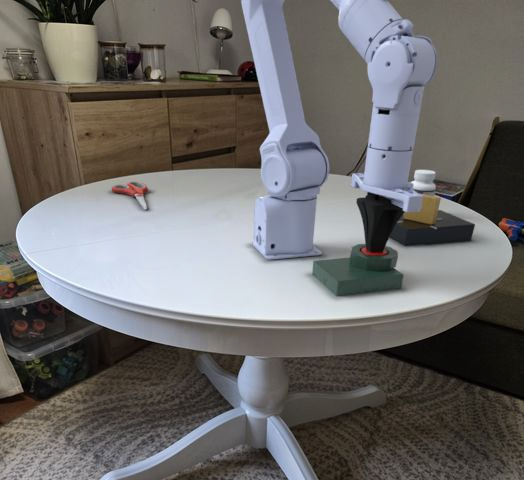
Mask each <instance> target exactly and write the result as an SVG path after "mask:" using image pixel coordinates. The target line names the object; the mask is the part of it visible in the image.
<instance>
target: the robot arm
mask: <svg viewBox="0 0 524 480" xmlns="http://www.w3.org/2000/svg"><path fill="white" fill-rule="evenodd" d="M329 1H330V2H331V3H332V4H333V5H334V6H335V8H337V10H338V11H339V12H338V13H339V14H338V27H339V30H340V31H341V33H343V35H344V36H345V37H346V39H347V40H348V42H349V43H350V44H351V45H352V46H353V48H354V49H355V51H357V52H358V54H359V55H360V57H361V58H362V59H363V61H364V62H365V63H366V65H367V77H368V81H369V83H370V85H371V88H372V98H371V102H372V103H373V104H372V110H371V111H372V112H371V118H370V127H369V134H368V141H367V149H366V157H365V165H364V170H363V171H364V172H354V173H351V183H350V188H352V189H359V190H361V191H363V192H366V195H365V197H357V198H356V201H355V202H356V205H357V207H358V211H359V213H360V217H361V221H362V225H363V234H364V244H366V250H368V251H369V252H371V253H373V252H383V250H384V248H385V246H387V244H388V241H389V239H390V238H389V237H390V234H391V232H392V230H393V228H394V227H395V225H396V223H397V222H398V220H399V219H400V218H401V216H402V215H403V214H404V213H405V212H420V211H421V206H422V201H423V196H422V195H420V194H418V193H417V192H415V191H414V190H413V185H414V184H413V183H411V181H409V175H410V171H411V166H412V165H411V164H412V159H413V153H414V148H415V142H416V137H417V131H418V125H419V120H420V113H421V109H422V104H423V98H424V97H423V96H424V90H425V88H426V87H427V86H428V85H429V84H430V82H432V80H433V78H434V76H435V74H436V71H437V67H438V55H437V54H438V53H437V50H436V48H435V46H434V45H433V42H432V39H431V38H429V37H427V36H424V35H414V33H413V29H414V26H415V25H414V24H413V23H412V22H411V21H410V19H403V18H402V16H401V15H400V14H399V13H398V12H397V10H396V8H395V7H394V6H393V5H392V4H391V3H390V2H389V0H329ZM284 2H285V0H240V3H241V8H242V13H243V18H244V23H245V27H246V31H247V32H246V33H247V35H248V40H249V44H250V45H249V46H250V50H251V53H252V54H251V55H252V59H253V62H254V67H255V72H256V77H257V81H258V86H259V90H260V95H261V99H262V103H263V104H262V105H263V109H264V113H265V117H266V122H267V127H268V131H269V133H268V135H267V137H266V138H265V139H264V141H263V142H262V144H261V145H260V147H259V153H260V158H261V166H260V178H261V182H262V185H263V187H264V189H265V190H266V192H267V195H265V196H260V197H257V198H256V199H255V203H254V212H253V214H254V215H253V241H252V246H253V247H254V248H255V249H256V250H257V251H258V252H259V253H260V254H261V255H262V256H263V258H265V259H266V260H267V261H268V260H269V261H271V260H280V259H281V260H282V259H283V260H284V259H293V258H304V257H305V258H306V257H315V256H316V257H317V256H323V251H321V250H320V249H319V248H318V247H316V246H315V245H314V238H315V235H314V234H315V225H316V213H317V212H316V211H317V200H318V195H320V193H321V187H323V186H324V185H325V183H326V182H327V180H328V178H329V174H330V161H329V157H328V155H327V154H326V152H325V151H324V150H323V148H322V144H321V142H320V141H321V140H320V136H319V135H318V134H317V133H316V132H315V131H314V130H313V129H312V128H311V127H310V126H309V125H308V124H307V122H306V118H305V113H304V108H303V103H302V98H301V93H300V89H299V84H298V79H297V74H296V68H295V64H294V59H293V54H292V49H291V43H290V39H289V32H288V28H287V23H286V19H285V14H284V9H283V5H284Z"/></svg>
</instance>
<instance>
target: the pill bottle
mask: <svg viewBox="0 0 524 480" xmlns="http://www.w3.org/2000/svg"><path fill="white" fill-rule="evenodd" d="M436 173H437V172H436V171H435V170H430V169H416V170H414V175H413V179H414V180H412V181H410V183H413V184H414V185H413V190H414V191H417V192H418V193H420V194H425V195H431V196H435V195H436V190H437V189H436V188H437V186H436V184H435V183H434V182H433V181H434V180H435V179H436Z"/></svg>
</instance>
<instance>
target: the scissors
mask: <svg viewBox="0 0 524 480" xmlns="http://www.w3.org/2000/svg"><path fill="white" fill-rule="evenodd" d="M148 190H149V187H148V186H147V184H145V183H144V182H141V181H129V182H127V183H126V184H115V185H112V186H111V191H112V192H113V193H116V194H121V195H122V194H124V195H128V196H130V197H131V198H135V199H136V201H137V202H138V204H139V205H140V206H141V208H142V209H143V210H144V211H147V210H148V206H147V202H146V200H145V197H144V195H145V193H147V192H148Z"/></svg>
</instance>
